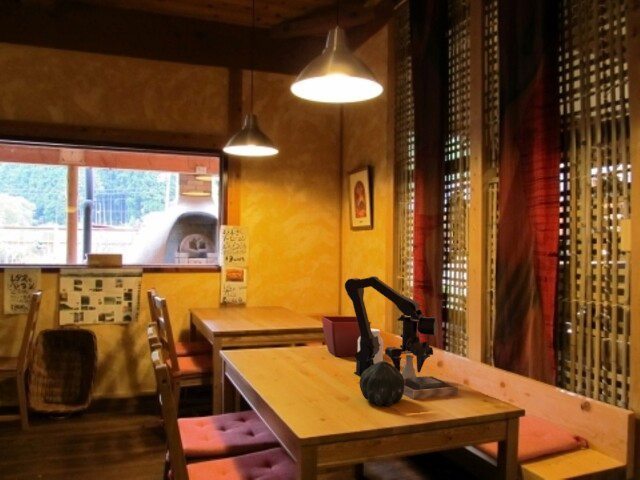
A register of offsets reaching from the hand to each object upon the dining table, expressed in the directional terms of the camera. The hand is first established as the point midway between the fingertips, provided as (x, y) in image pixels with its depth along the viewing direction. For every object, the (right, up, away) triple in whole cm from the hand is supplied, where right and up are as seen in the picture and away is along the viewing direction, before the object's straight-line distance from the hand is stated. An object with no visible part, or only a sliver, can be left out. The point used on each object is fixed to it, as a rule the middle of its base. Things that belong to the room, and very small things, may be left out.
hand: (408, 373), depth 208 cm
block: (+2, -2, -16) cm, 17 cm away
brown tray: (+2, -3, -16) cm, 17 cm away
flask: (0, -3, 0) cm, 3 cm away
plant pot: (-23, -3, +49) cm, 54 cm away
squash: (-14, -3, -30) cm, 33 cm away
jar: (-12, -3, +30) cm, 32 cm away
